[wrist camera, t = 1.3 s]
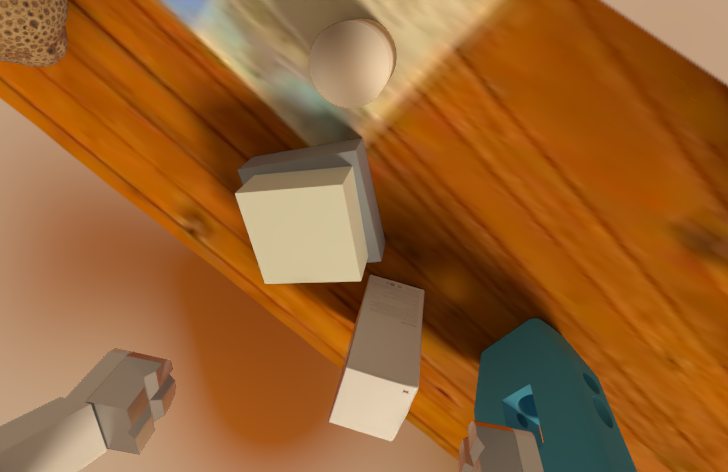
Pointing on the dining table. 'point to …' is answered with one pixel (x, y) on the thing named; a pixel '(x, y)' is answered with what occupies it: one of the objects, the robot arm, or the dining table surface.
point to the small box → (381, 360)
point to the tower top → (305, 225)
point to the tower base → (330, 158)
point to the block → (550, 401)
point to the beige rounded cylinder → (352, 62)
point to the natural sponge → (33, 31)
